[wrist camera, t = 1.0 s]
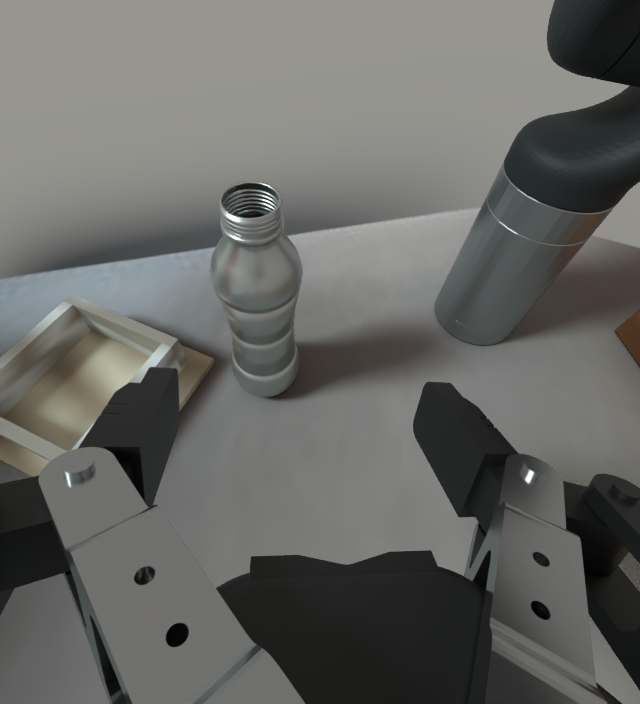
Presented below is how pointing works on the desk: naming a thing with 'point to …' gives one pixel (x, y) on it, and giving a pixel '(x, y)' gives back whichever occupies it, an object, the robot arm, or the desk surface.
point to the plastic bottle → (258, 287)
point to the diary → (631, 335)
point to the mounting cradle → (78, 378)
